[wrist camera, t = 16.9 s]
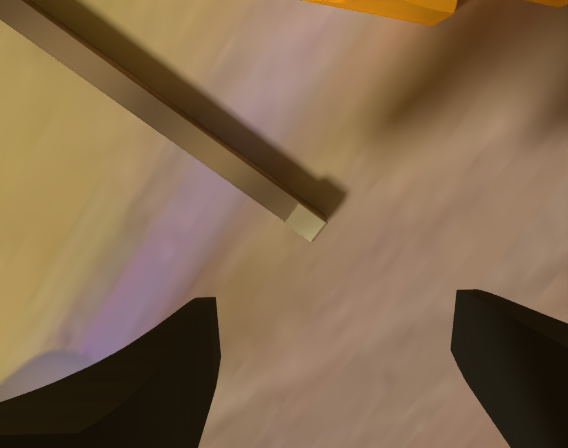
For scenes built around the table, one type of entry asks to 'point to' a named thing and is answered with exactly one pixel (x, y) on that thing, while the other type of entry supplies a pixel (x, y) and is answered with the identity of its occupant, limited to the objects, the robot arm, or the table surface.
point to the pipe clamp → (411, 8)
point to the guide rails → (160, 115)
